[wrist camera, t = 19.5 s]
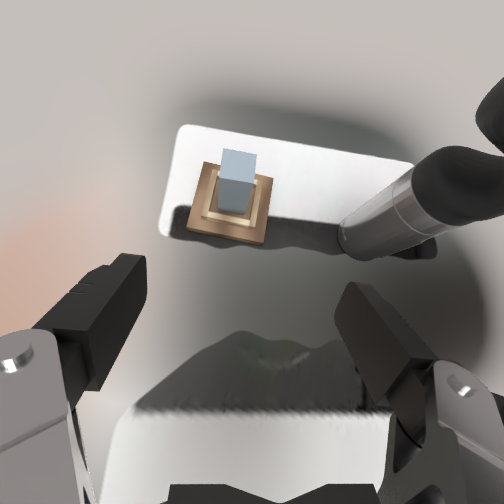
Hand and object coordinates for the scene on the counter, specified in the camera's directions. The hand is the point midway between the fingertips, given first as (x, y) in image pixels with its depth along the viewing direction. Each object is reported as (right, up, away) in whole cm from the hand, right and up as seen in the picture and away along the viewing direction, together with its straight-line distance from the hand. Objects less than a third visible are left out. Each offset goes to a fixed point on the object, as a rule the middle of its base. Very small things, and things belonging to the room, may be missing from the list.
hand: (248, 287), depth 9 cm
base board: (-3, +10, +33) cm, 35 cm away
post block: (-3, +10, +31) cm, 33 cm away
